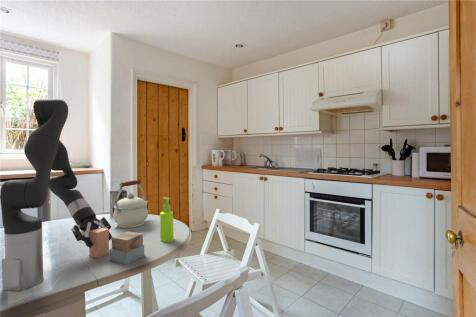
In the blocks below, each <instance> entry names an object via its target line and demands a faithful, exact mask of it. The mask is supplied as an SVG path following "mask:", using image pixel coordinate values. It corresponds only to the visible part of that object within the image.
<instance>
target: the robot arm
mask: <svg viewBox="0 0 476 317" xmlns="http://www.w3.org/2000/svg"><path fill="white" fill-rule="evenodd" d="M32 107H33V113H34V114H33V115H34V118H35V121H36V122H37V126H38V128H36V129H35V130H34V131H32V132H31V133H30V135H29V136H28V137H27V141H26V142H25V143H26V144H25V146H24V149H23V150H24V152H23V153H24V155H25V158H26V159H27V160H28V162H29V163H30V164H31V166H32V167H33V169H34V171H35V177H34V178H33V179H10V180H6V181H4V182H3V183H2V185H1V188H0V208H1V221H2V225H3V232H4V233H3V234H4V236H3V237H4V257H3V258H1V279H2V280H1V281H2V283H1V285H2V290H5V291H15V292H21V291H22V290H25V289H28V288H32V287H34V286H36V285H38V284H39V283H41V282H43V280H44V250H43V248H44V247H43V222H42V221H43V220H42V219H41V218H39V217H37V216H33V215H29V214H26V213H25V212H23V211H22V210H25V209H26V210H27V209H37V208H41V207H43V205H44V204H45V203H46V200H47V197H48V191H49V190H50V191H51V193H53V194H54V195H55V196H57V198H59V199H60V200H61V201H62V202H63V203H64V205H65V206H66V208H67V211H68V212H69V214H70V216H71V218H72V220H74V223H75V225H74V226H73V227H72V228H71V231H72V234H73V236H74V238H75V240H76V241H77V242H80V241H82V242H84V244H85V246H86V247H88V249H89V248H91V247H92V246H93V243H92V241H91V239H90V238H89V231H91V230H94V229H98V228H105V229H109V241H112V237H113V235H112V233H111V232H110V229H111V228H112V226H111V224H110V223H109V221H108V220H107V218H105V217H104V216H103V217H102V218H100V219H98V218H97V215H96V213H95V211H94V210H93V208H92V207H91V205H90V204H89V202H88V201H87V200H86V199H85V197H84V195H83V194H82V193H81V191H80V190H78V189H75V188H76V187H77V186H78V179H77V177H76V174H75V173H74V171H73V169H72V166H71V164H70V159H69V158H70V157H69V153H68V149H67V147H66V146H65V144H64V143H63V142H62V141H61V139H60V138H61V135H62V131H63V129H64V126H65V124H66V122H67V119H68V116H69V106H68V103H67V102H66V101H65V100H63V99H61V98H44V99H36V100H35V101H34V102H33V106H32ZM52 171H54V172H55V171H56V172H57V171H58V172H61V171H62V172H63V174H60V175H57V176H53V177H51V173H52ZM81 230H82V231H83V234H81Z"/></svg>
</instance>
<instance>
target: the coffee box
mask: <svg viewBox="0 0 476 317" xmlns="http://www.w3.org/2000/svg"><path fill="white" fill-rule="evenodd" d="M119 191H120V189H116V190H110V191H109V214H110V217H111V218H113V214H114V210H115V208H114V206H115V199H116V196H117V194H118V193H119ZM127 196H128V192H127V190H126V189H122V192H121V193H120V195H119V197H118V200H117V202H118V201H119V200H121V199H124V198H128V197H127Z"/></svg>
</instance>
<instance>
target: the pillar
mask: <svg viewBox="0 0 476 317" xmlns="http://www.w3.org/2000/svg"><path fill="white" fill-rule="evenodd" d="M109 232H110V230H109V229H105V228H101V227H99V228H98V229H94V230H91V231H89V234H88V237H89V238H90V239H91V241H92V243H93V246H92V247H91V248H89V247H88V249H89V250H88V254H89V256H90V257H94V258H100V257H103V256H105V255H109V249H110V244H109V243H110V240H109Z"/></svg>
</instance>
